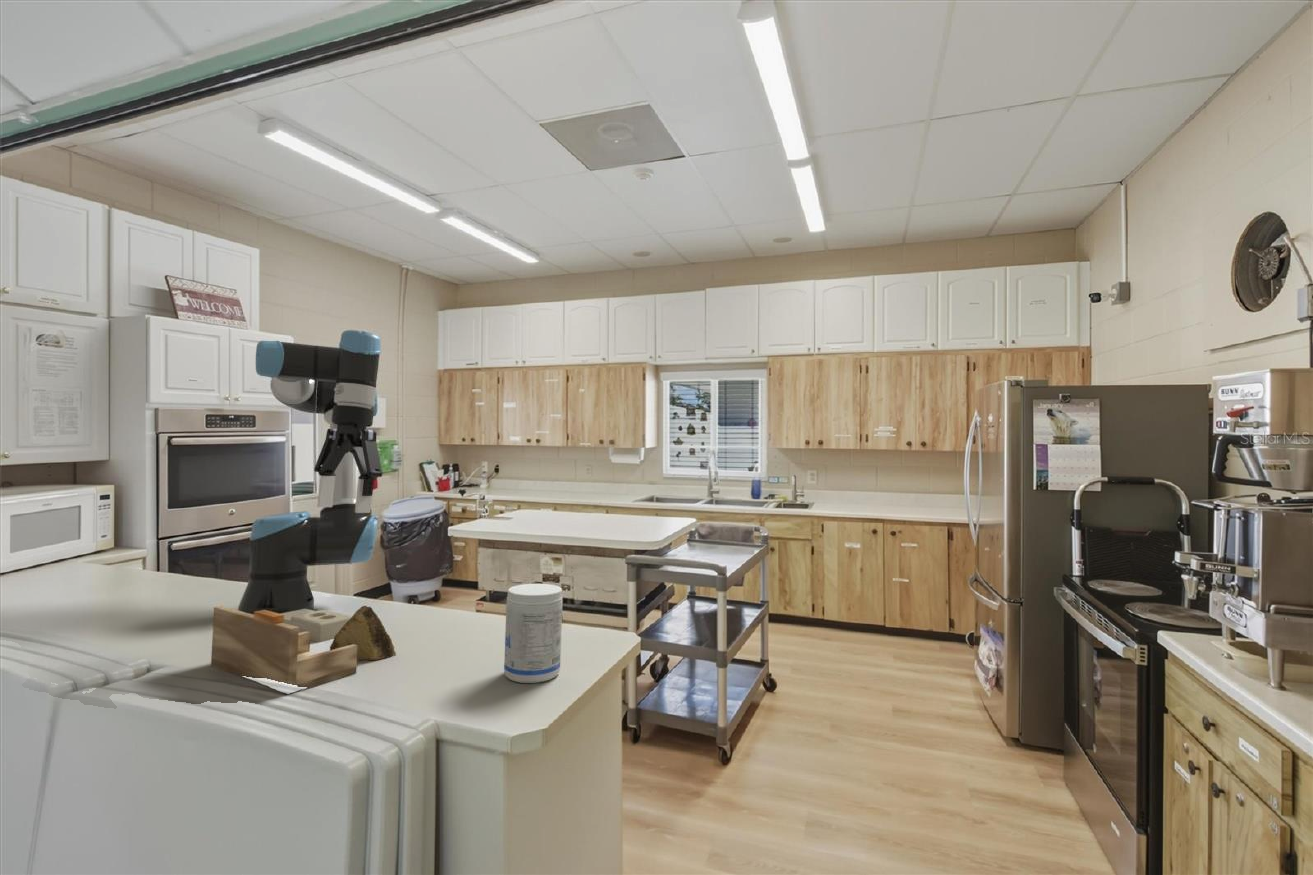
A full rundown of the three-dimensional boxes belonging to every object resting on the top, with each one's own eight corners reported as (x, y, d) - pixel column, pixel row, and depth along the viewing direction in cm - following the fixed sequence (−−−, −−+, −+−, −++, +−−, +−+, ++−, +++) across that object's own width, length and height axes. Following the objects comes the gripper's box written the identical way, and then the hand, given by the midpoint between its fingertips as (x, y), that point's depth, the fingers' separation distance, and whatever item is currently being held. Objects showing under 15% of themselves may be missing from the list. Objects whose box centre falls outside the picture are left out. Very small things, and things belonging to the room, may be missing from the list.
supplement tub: (499, 669, 104) (502, 584, 104) (552, 662, 108) (555, 581, 108) (509, 688, 95) (512, 596, 96) (566, 681, 99) (569, 592, 99)
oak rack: (278, 648, 113) (281, 589, 113) (356, 673, 100) (359, 606, 101) (209, 665, 103) (213, 600, 103) (286, 695, 90) (289, 621, 91)
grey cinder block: (305, 604, 132) (353, 616, 123) (304, 622, 132) (353, 635, 123) (271, 611, 126) (319, 623, 117) (270, 630, 126) (318, 644, 117)
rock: (310, 647, 107) (339, 649, 101) (337, 603, 112) (367, 603, 106) (357, 671, 113) (388, 674, 108) (381, 628, 118) (411, 630, 113)
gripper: (303, 404, 125) (291, 505, 123) (372, 402, 111) (361, 515, 110) (337, 409, 131) (327, 505, 129) (407, 408, 118) (397, 514, 116)
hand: (343, 510), depth 120 cm, fingers open, 13 cm apart
